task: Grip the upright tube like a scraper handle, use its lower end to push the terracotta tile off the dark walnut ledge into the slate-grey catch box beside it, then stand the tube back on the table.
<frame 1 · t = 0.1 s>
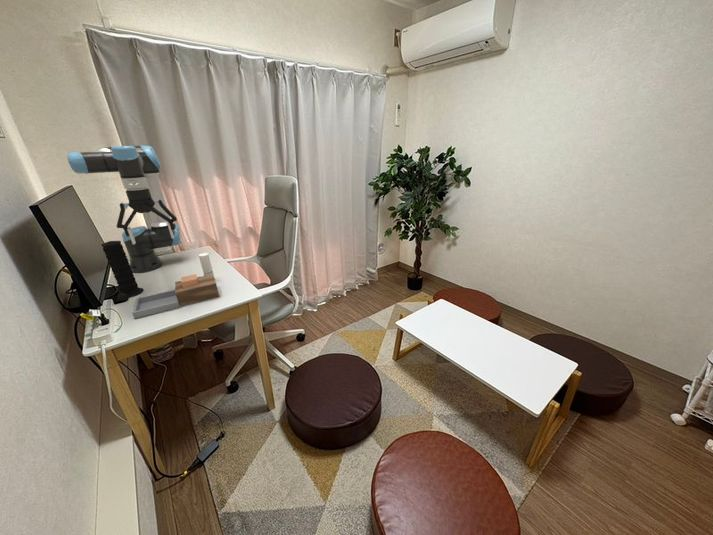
hand: (154, 240, 116), 28 cm above the table, tool pointing down, fingers open, 13 cm apart
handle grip: (131, 293, 132), on the table
catch box: (158, 305, 121), on the table
walnut ledge: (199, 296, 129), on the table
tube: (210, 281, 143), on the table
terracotta tile: (190, 283, 125), point 7 cm above the table, touching walnut ledge
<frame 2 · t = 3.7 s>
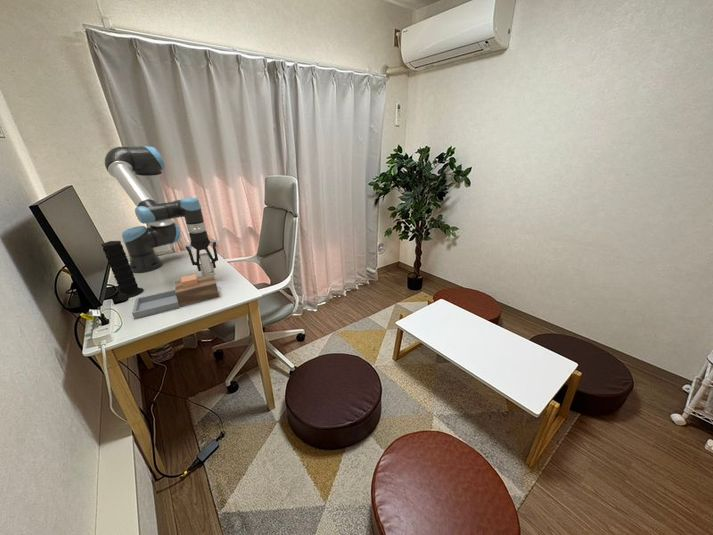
hand: (208, 275, 141), 4 cm above the table, tool pointing down, fingers closed on tube, 4 cm apart
tube: (210, 281, 143), on the table, touching gripper
everything else where it was.
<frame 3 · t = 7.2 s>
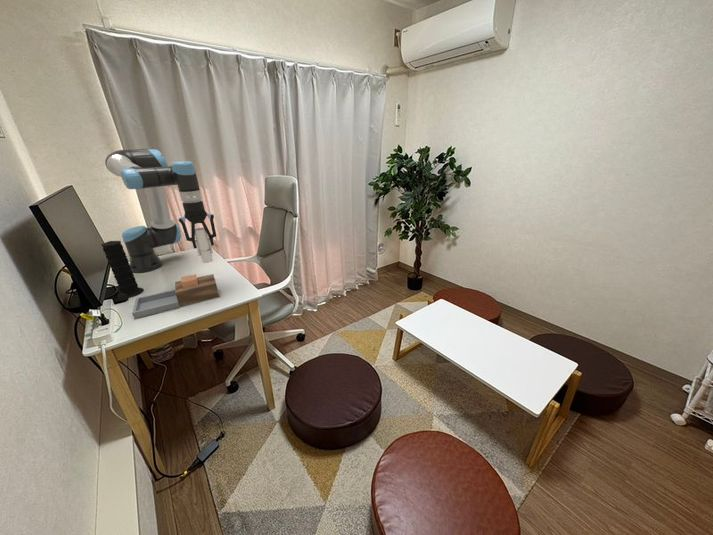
hand: (205, 253, 124), 20 cm above the table, tool pointing down, fingers closed on tube, 4 cm apart
tube: (207, 261, 125), point 16 cm above the table, touching gripper
everything else where it was.
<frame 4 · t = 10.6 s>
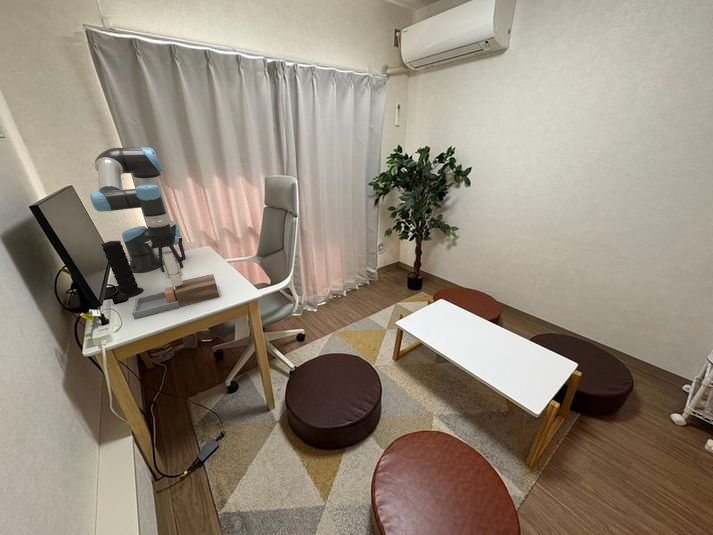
hand: (175, 276, 121), 12 cm above the table, tool pointing down, fingers closed on tube, 4 cm apart
tube: (177, 284, 122), point 8 cm above the table, touching gripper
terracotta tile: (174, 294, 123), point 3 cm above the table, tilted 90°, touching catch box
everything else where it was.
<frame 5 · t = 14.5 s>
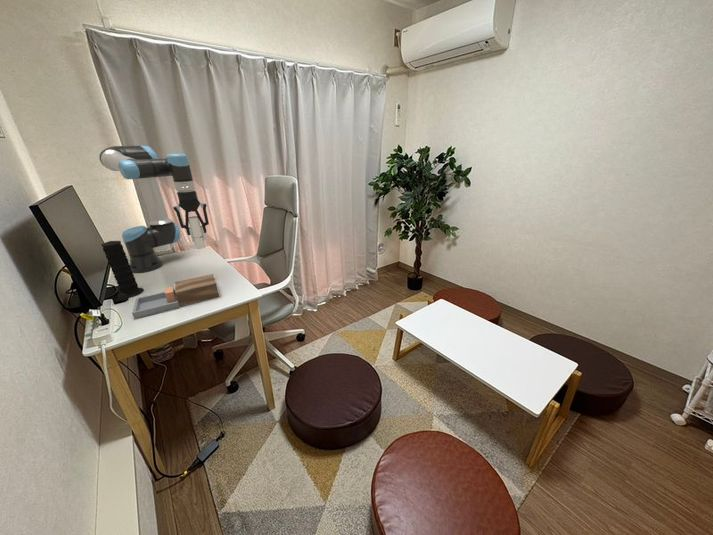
hand: (199, 240, 133), 23 cm above the table, tool pointing down, fingers closed on tube, 4 cm apart
tube: (201, 247, 134), point 19 cm above the table, touching gripper
everything else where it was.
when the fingers open (5 cm above the table, at t = 18.1 s): tube drops 1 cm, on the table.
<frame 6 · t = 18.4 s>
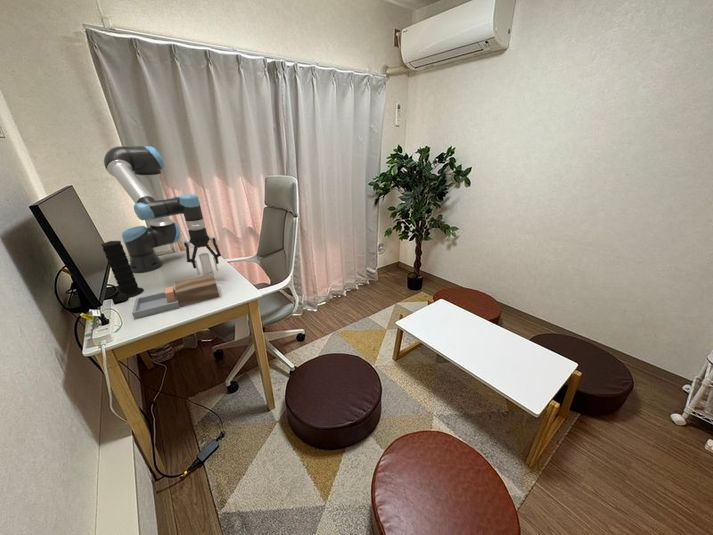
hand: (208, 271, 140), 6 cm above the table, tool pointing down, fingers open, 8 cm apart
tube: (210, 281, 143), on the table
everything else where it was.
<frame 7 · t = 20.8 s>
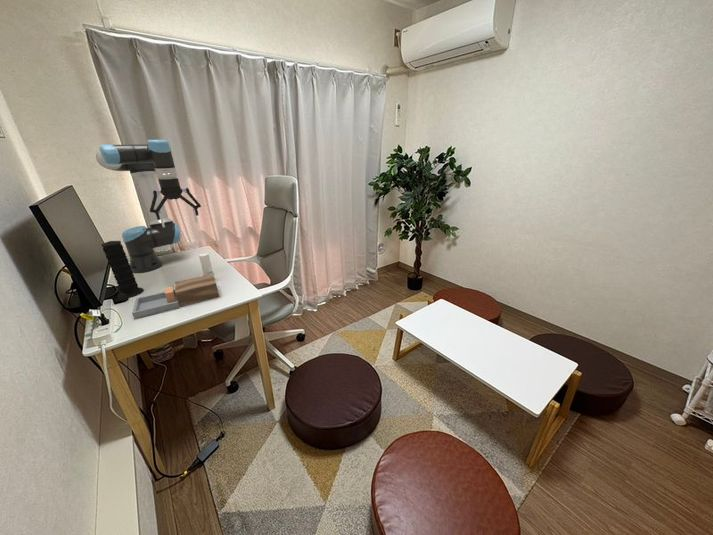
hand: (180, 224, 131), 30 cm above the table, tool pointing down, fingers open, 13 cm apart
nothing on the table moved.
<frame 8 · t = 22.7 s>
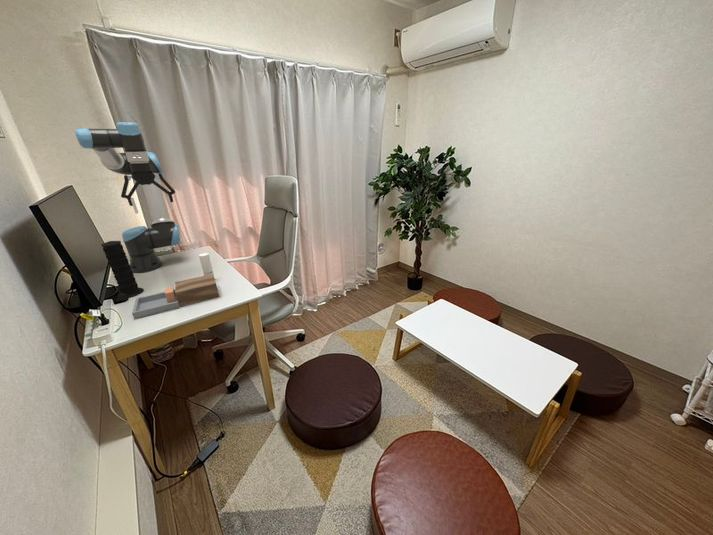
hand: (154, 211, 128), 37 cm above the table, tool pointing down, fingers open, 13 cm apart
nothing on the table moved.
at the end: terracotta tile inside the target area (7.0 cm from its centre), point 3.5 cm above the table; terracotta tile point 3.5 cm above the table; tube on the table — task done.
